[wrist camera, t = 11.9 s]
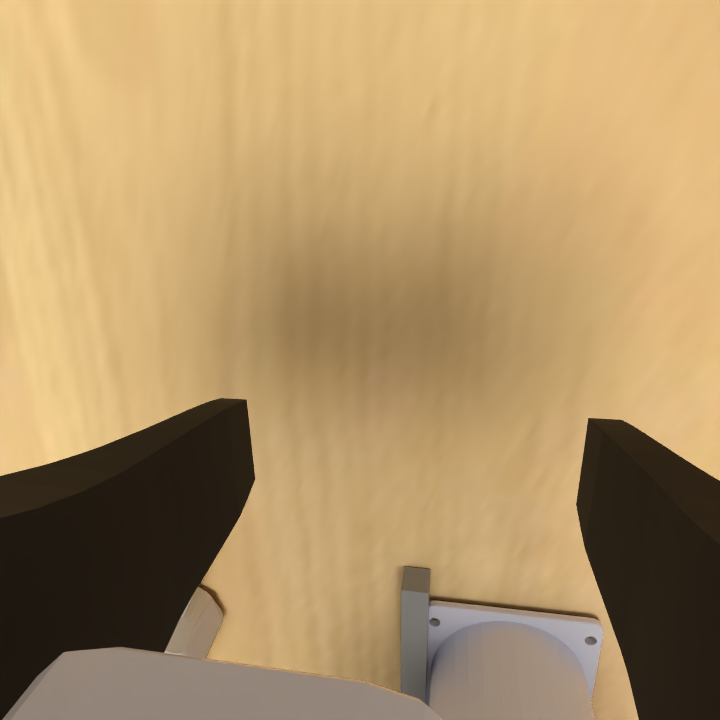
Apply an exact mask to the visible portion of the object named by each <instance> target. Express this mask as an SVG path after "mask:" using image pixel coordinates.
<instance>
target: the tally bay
mask: <svg viewBox="0 0 720 720" xmlns="http://www.w3.org/2000/svg"><path fill="white" fill-rule="evenodd" d="M429 595H430V569H424V568H414V567H404V575H403V582H402V590H401V693H403V694H406V695H409V696H412V697H415V698H418V699H420V700H421V701H422V702H424V703H425V704H426V688H427V652H428V617H429Z"/></svg>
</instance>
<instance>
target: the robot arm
mask: <svg viewBox="0 0 720 720" xmlns="http://www.w3.org/2000/svg"><path fill="white" fill-rule="evenodd" d="M254 480H255V473H254V464H253V455H252V446H251V436H250V427H249V418H248V409H247V400H243V399H224V398H220V399H216V400H213V401H210V402H207V403H204V404H202V405H199V406H197V407H194V408H192V409H189V410H187V411H185V412H183V413H180V414H178V415H176V416H173V417H171V418H169V419H167V420H164V421H162V422H160V423H157V424H155V425H153V426H151V427H148V428H146V429H144V430H141V431H139V432H136V433H134V434H131V435H129V436H126V437H124V438H121V439H119V440H116V441H114V442H111V443H109V444H106V445H104V446H101V447H99V448H96V449H93V450H90V451H87V452H84V453H81V454H79V455H75V456H72V457H69V458H66V459H63V460H59V461H56V462H53V463H50V464H46V465H43V466H39V467H35V468H31V469H27V470H23V471H19V472H15V473H11V474H7V475H3V476H0V720H595V717H594V713H593V709H592V704H591V701H592V695H593V689H594V684H595V678H596V673H597V667H598V662H599V656H600V651H601V645H602V640H603V634H604V631H603V627H602V624H601V622H600V621H598V620H597V619H594V618H588V617H579V616H570V615H561V614H552V613H543V612H534V611H525V610H516V609H507V608H498V607H489V606H481V605H472V604H463V603H454V602H445V601H436V600H435V601H429V617H428V652H427V688H426V704H425V703H424V702H422V701H421V700H420V699H418V698H415V697H412V696H409V695H406V694H403V693H400V692H397V691H394V690H391V689H388V688H385V687H382V686H379V685H376V684H373V683H370V682H367V681H363V680H355V679H348V678H341V677H334V676H327V675H320V674H312V673H305V672H298V671H291V670H284V669H276V668H269V667H262V666H255V665H248V664H240V663H233V662H226V661H219V660H212V659H204V658H197V657H190V656H183V655H176V654H168V653H164V652H165V650H166V648H167V646H168V643H169V641H170V639H171V637H172V635H173V633H174V631H175V628H176V626H177V624H178V622H179V620H180V618H181V616H182V614H183V612H184V610H185V608H186V607H187V605H188V603H189V601H190V599H191V597H192V596H193V594H194V592H195V591H196V589H197V588H198V586H199V584H200V583H201V581H202V579H203V578H204V576H205V574H206V573H207V571H208V569H209V568H210V566H211V564H212V563H213V561H214V559H215V558H216V556H217V554H218V553H219V551H220V549H221V548H222V546H223V544H224V543H225V541H226V539H227V538H228V536H229V534H230V532H231V531H232V529H233V527H234V526H235V524H236V522H237V520H238V519H239V517H240V515H241V513H242V510H243V508H244V506H245V503H246V501H247V499H248V496H249V493H250V491H251V488H252V486H253V483H254ZM576 505H577V511H578V516H579V521H580V527H581V532H582V537H583V541H584V546H585V550H586V553H587V556H588V559H589V561H590V564H591V567H592V570H593V573H594V576H595V579H596V582H597V585H598V587H599V590H600V593H601V596H602V599H603V601H604V604H605V607H606V610H607V613H608V615H609V618H610V621H611V624H612V627H613V630H614V632H615V635H616V638H617V641H618V644H619V646H620V649H621V652H622V656H623V659H624V662H625V666H626V669H627V672H628V676H629V680H630V684H631V688H632V692H633V697H634V701H635V705H636V709H637V713H638V717H639V720H720V481H719V480H717V479H716V478H714V477H712V476H711V475H709V474H707V473H706V472H704V471H702V470H701V469H699V468H697V467H696V466H694V465H693V464H691V463H689V462H688V461H686V460H685V459H683V458H682V457H680V456H678V455H677V454H675V453H674V452H672V451H671V450H669V449H668V448H666V447H665V446H663V445H662V444H660V443H659V442H657V441H656V440H654V439H652V438H651V437H649V436H648V435H646V434H645V433H643V432H642V431H640V430H638V429H637V428H635V427H634V426H632V425H630V424H628V423H626V422H624V421H622V420H613V419H594V418H588V426H587V433H586V440H585V447H584V454H583V461H582V468H581V475H580V482H579V489H578V496H577V503H576ZM432 618H436V619H438V620H433V619H432ZM591 636H592V638H587V637H591Z"/></svg>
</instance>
